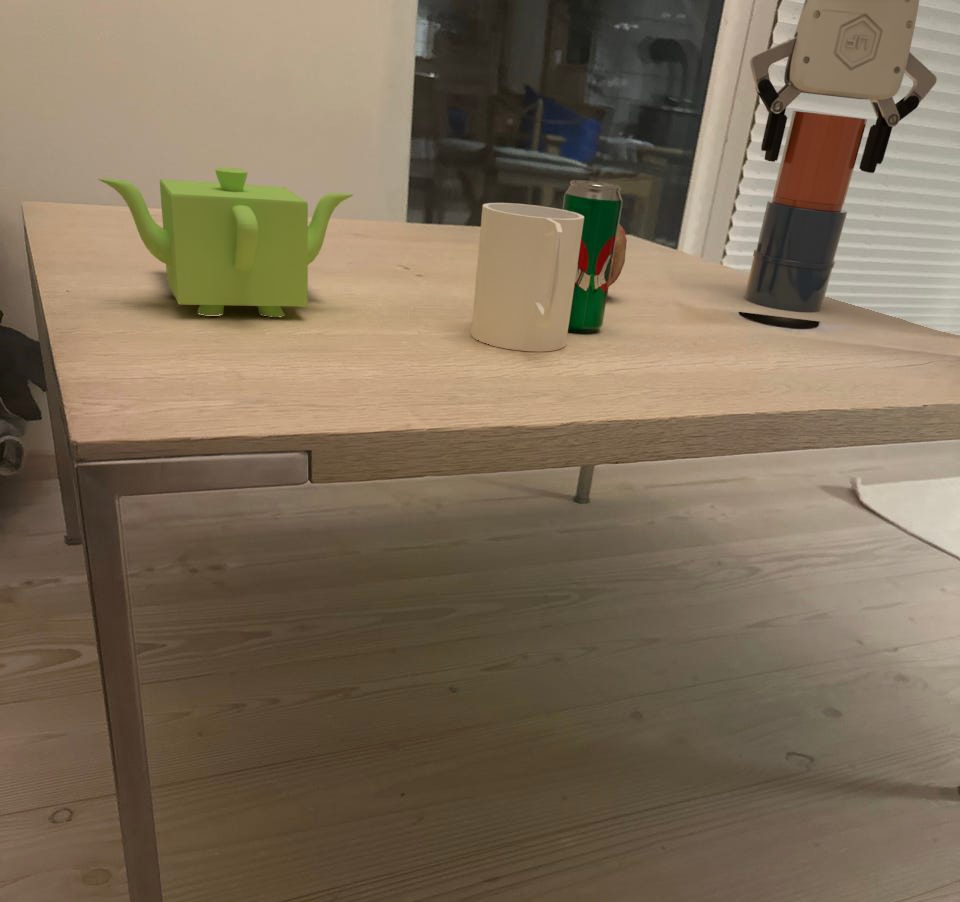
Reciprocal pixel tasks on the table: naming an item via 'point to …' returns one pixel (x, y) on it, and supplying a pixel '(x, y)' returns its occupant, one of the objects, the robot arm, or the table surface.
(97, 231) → the table surface
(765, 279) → the cup stack
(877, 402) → the table surface
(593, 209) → the soda can
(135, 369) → the table surface
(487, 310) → the cup
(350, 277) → the table surface
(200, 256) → the teapot
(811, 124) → the terracotta cup
